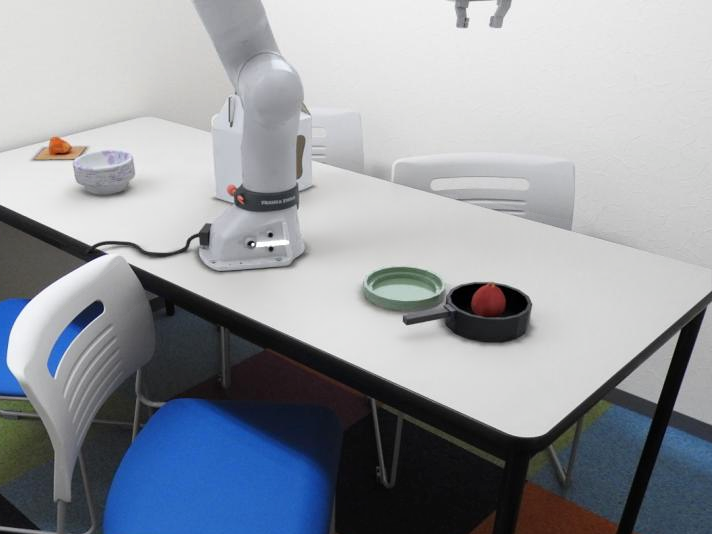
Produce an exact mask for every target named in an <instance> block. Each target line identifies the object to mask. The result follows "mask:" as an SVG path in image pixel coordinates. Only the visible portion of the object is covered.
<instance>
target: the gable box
mask: <svg viewBox="0 0 712 534" xmlns="http://www.w3.org/2000/svg"><path fill="white" fill-rule="evenodd" d="M243 120H244V110H243V103H242V100H241V99H240V97H239V96H238V95H237V93H236V91H235V90H234V93H232V94H230V95H229V96H228V97H227V99H226V100H225V102H224V104H223V105H222V107H221V109H220V111H219V113H218V115H217V116H216V118H215V120H214V121H213V124H212V126H211V140H212V141H211V143H212V156H213V169H214V184H215V197H216V199H217V200H221V201H224V202H228V203H230V204H234V197H233V196H230V195H229V193H228V192H227V187H228V186H229V185H234V186H235V187H236V188H237V189H238V188H239V187H240V185H241V184H242V163H241V143H242V136H243ZM312 120H313V117H312V115H311V113H310V110H309V109H308V108H307V106H306V104H305V102H303V104H302V107H301V113H300V121H299V128H298V135H297V143H296V182H297V183H298V187H299V192H301V191H303V190H306V189H308V188H309V189H310V188H311V187H312V186H313V161H312V160H313V121H312Z"/></svg>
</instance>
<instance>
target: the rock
mask: <svg viewBox="0 0 712 534" xmlns="http://www.w3.org/2000/svg"><path fill="white" fill-rule="evenodd" d="M85 149H86V146H72V145H71V144H70V143H69V142H68V141H65V140H64V139H62V138H60V137H59V136H52V137H50V138H49V142H48V147H45V148H44V149H43V150H42V151H41V152H40V153H39V154H38V155H37V156H36V157H35V158H34V160H39V161H40V160H51V161H52V160H75V159H76V158H77V157H79V156H81V154H82V153H83V152H84V150H85Z"/></svg>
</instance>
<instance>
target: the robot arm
mask: <svg viewBox="0 0 712 534" xmlns="http://www.w3.org/2000/svg"><path fill="white" fill-rule="evenodd" d="M190 1H191V3H192V5H193V7H194V9H195V10H196V13H197V14H198V17H199V18H200V21H201V23H202V24H203V26H204V28H205V31H206V32H207V35H208V37H209V38H210V40H211V43H212V45H213V47H214V48H215V51H216V53H217V56H218V58H219V60H220V62H221V64H222V66H223V69H224V71H225V72H226V75H227V77H228V79H229V82H230V83H231V85H232V87H233V89H234V92H235V91H236V93H237V95H238V96H239V97H240V99H241V100H242V104H243V110H244V120H243V136H242V143H241V163H242V184H241V185H240V187H239V188H238V189H237V188H236V187H235V186H234V185H229V186H228V187H227V192H228V193H229V195H230V196H233V197H234V203H232V205H231V206H230V207H228V209H226V210H225V211H224V212H223V213H222V214H221V215H219V216H218V217H217V218H216V219H215V220H214V221H212V223H208V222H205V224H204V225H202V228H201V229H200V230H199V231H198V232H197V233H194V234H192V235H191V236H189V237H188V238H187V239H186V243H185V246H183V247H182V248H179V249H178V250H175V251H171V252H155V251H147V250H145V249H143V248H141V246H139V244H137V243H135V242H130V241H123V240H122V241H121V240H104V241H99V242H97V243H94V244H93V245H91V246H90V247H89V248H88V249H86V251H85V252H84V254H85V255H87V254H90V253H91V252H93V250H95V249H97V248H99V247H102V246H111V245H112V246H129V247H132V248H134V249H136V250H137V251H138V252H139V253H141V254H142V255H145V256H148V257H149V256H150V257H162V258H164V257H165V258H166V257H171V256H175V255H178V254H182V253H184V252H185V251H187V250H188V249H189V248H190V245H191V242H192V241H193V240H195V239H196V238H198V240H199V249H198V256H199V258H200V260H201V262H203V263H204V264H205V265H206V266H207V267H208V268H210V269H212V270H214V271H218V272H225V271H228V272H229V271H238V270H250V269H251V270H253V269H265V268H277V267H278V268H279V267H287V266H290V265H291V264H292V262H293V261H294V260H295V259H296V258H298V257H300V256H301V255H302V254H303V253H304V252H305V251H306V250H305V248H306V246H305V244H304V240H303V237H302V232H301V226H300V221H299V220H300V219H299V212H298V211H299V208H300V191H299V187H298V183H297V182H296V143H297V135H298V128H299V121H300V113H301V107H302V104H303V103H304V101H305V100H304V99H305V91H304V85H303V82H302V79H301V76H300V74H299V72H298V70H297V69H296V68H295V67H294V66H293V65H291V64H290V63H289V62H288V61H287V60H286V59H285V58H284V56H283V55H282V52H281V50H280V49H279V46H278V43H277V41H276V39H275V36H274V33H273V30H272V27H271V25H270V22H269V19H268V16H267V12H266V8H265V7H264V5H263V3H262V0H190ZM446 1H448V2H452V3H454V10H455V15H456V23H455V27H456V28H457V29H467V28H468V27H469V23H470V17H468V15H467V9H468V8H469V5H470V2H471V3H472V2H490V1H493V0H446ZM512 1H513V0H496V6H497V8H496V9H495V11H494V14H493V15H491V16H490V18H489V23H488V24H489V25H488V26H489V28H491V29H501V28H502V27H503V23H504V18H505V16H506V15H507V14H508V12H509V10H510V8H511V6H512Z"/></svg>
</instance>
